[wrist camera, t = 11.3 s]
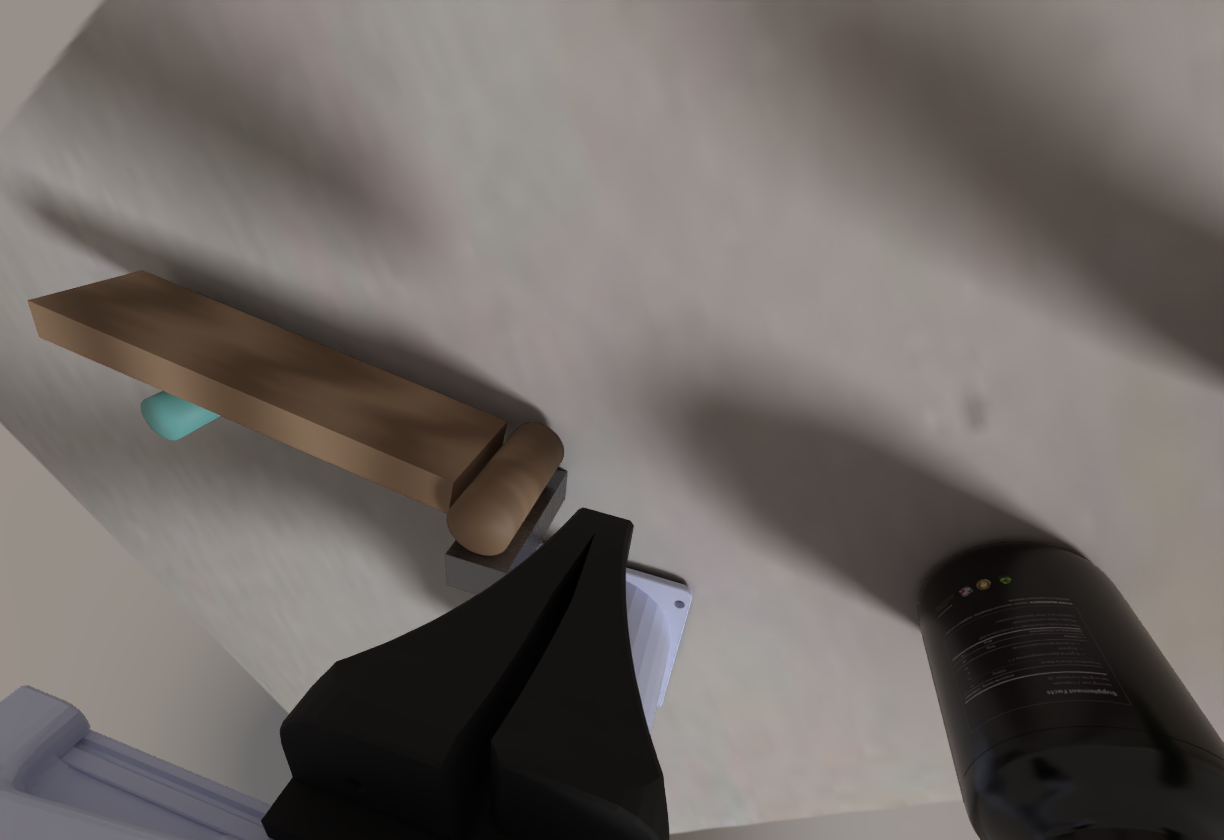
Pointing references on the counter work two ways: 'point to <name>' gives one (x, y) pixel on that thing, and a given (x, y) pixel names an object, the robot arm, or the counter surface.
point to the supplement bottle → (1064, 704)
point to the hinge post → (486, 570)
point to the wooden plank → (311, 400)
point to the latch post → (174, 415)
